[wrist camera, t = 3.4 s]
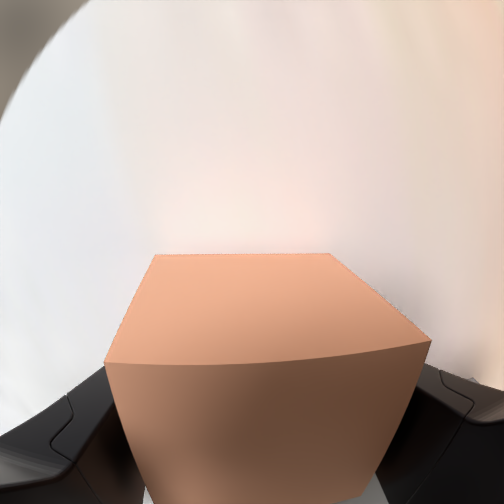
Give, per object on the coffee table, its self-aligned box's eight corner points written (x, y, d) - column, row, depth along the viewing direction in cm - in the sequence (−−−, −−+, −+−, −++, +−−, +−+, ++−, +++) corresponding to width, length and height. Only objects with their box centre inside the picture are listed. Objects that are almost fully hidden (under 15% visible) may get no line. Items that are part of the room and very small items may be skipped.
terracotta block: (329, 253, 9) (431, 340, 4) (310, 385, 11) (360, 495, 6) (155, 254, 8) (103, 362, 4) (170, 392, 10) (160, 517, 5)
